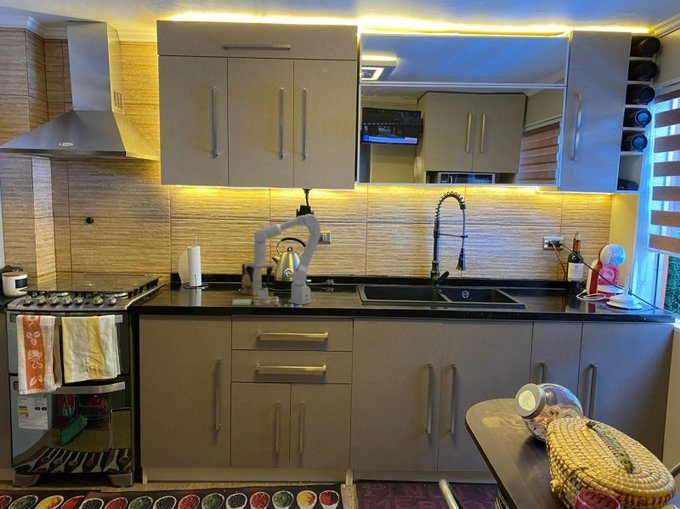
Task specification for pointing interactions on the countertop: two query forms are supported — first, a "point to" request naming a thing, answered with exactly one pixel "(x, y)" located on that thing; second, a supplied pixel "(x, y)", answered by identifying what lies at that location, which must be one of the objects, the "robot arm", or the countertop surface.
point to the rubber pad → (242, 302)
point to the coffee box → (246, 283)
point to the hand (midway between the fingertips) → (259, 282)
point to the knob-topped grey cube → (262, 293)
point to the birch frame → (266, 301)
